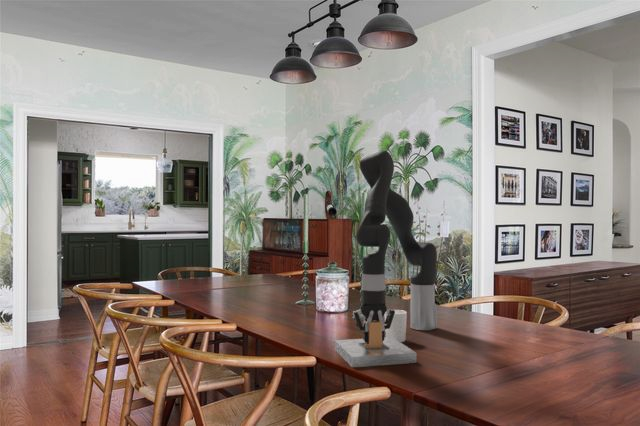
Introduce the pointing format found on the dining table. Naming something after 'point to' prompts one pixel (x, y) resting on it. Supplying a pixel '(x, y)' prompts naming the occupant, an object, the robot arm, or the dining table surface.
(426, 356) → the dining table surface
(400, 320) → the white cup
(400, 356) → the slab with square hole
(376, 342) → the tan wooden block
